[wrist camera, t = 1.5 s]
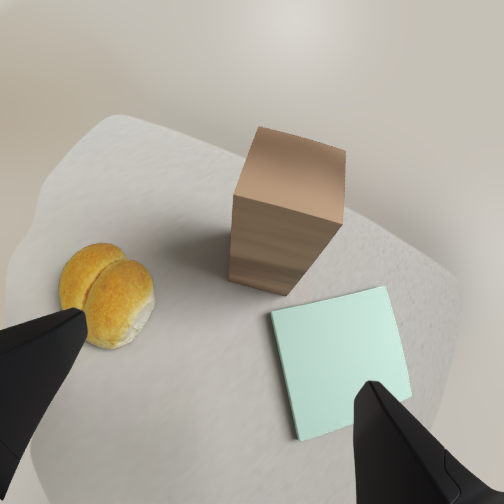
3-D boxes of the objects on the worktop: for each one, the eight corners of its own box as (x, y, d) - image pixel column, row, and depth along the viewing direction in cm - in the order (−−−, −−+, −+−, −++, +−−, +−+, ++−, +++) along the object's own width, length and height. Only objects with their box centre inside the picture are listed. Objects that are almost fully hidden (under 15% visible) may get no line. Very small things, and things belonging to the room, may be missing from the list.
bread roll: (101, 238, 23) (85, 216, 20) (172, 288, 22) (162, 271, 18) (54, 305, 20) (30, 293, 16) (119, 367, 19) (99, 365, 15)
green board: (406, 395, 19) (412, 395, 19) (297, 439, 17) (300, 441, 17) (380, 287, 24) (384, 285, 23) (270, 313, 22) (271, 311, 21)
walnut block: (286, 296, 23) (342, 224, 12) (228, 281, 23) (233, 194, 12) (296, 244, 25) (345, 150, 14) (243, 230, 25) (258, 126, 14)
